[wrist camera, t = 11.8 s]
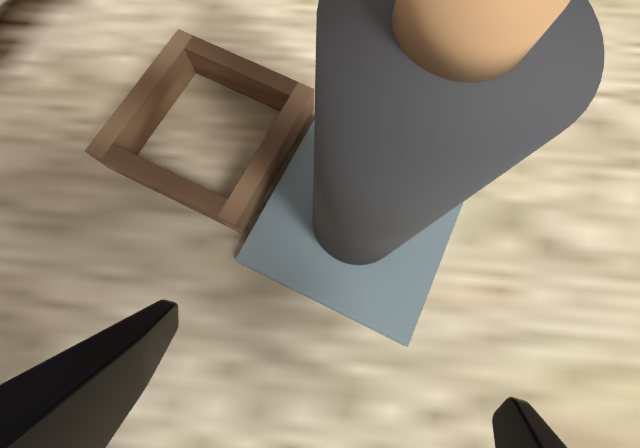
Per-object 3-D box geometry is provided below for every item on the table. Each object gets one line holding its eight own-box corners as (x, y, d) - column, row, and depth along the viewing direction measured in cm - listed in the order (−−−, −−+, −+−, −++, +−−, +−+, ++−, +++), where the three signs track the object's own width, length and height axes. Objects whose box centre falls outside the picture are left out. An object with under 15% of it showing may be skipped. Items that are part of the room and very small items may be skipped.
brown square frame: (242, 233, 18) (234, 224, 16) (108, 167, 18) (84, 151, 17) (313, 110, 20) (314, 89, 18) (190, 55, 21) (178, 29, 19)
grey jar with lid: (363, 284, 17) (553, 195, 4) (293, 223, 17) (243, -35, 4) (419, 217, 18) (725, -40, 5) (352, 162, 18) (451, -191, 5)
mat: (404, 345, 17) (407, 346, 16) (237, 261, 17) (234, 260, 17) (465, 186, 19) (470, 182, 18) (316, 119, 20) (317, 113, 19)
